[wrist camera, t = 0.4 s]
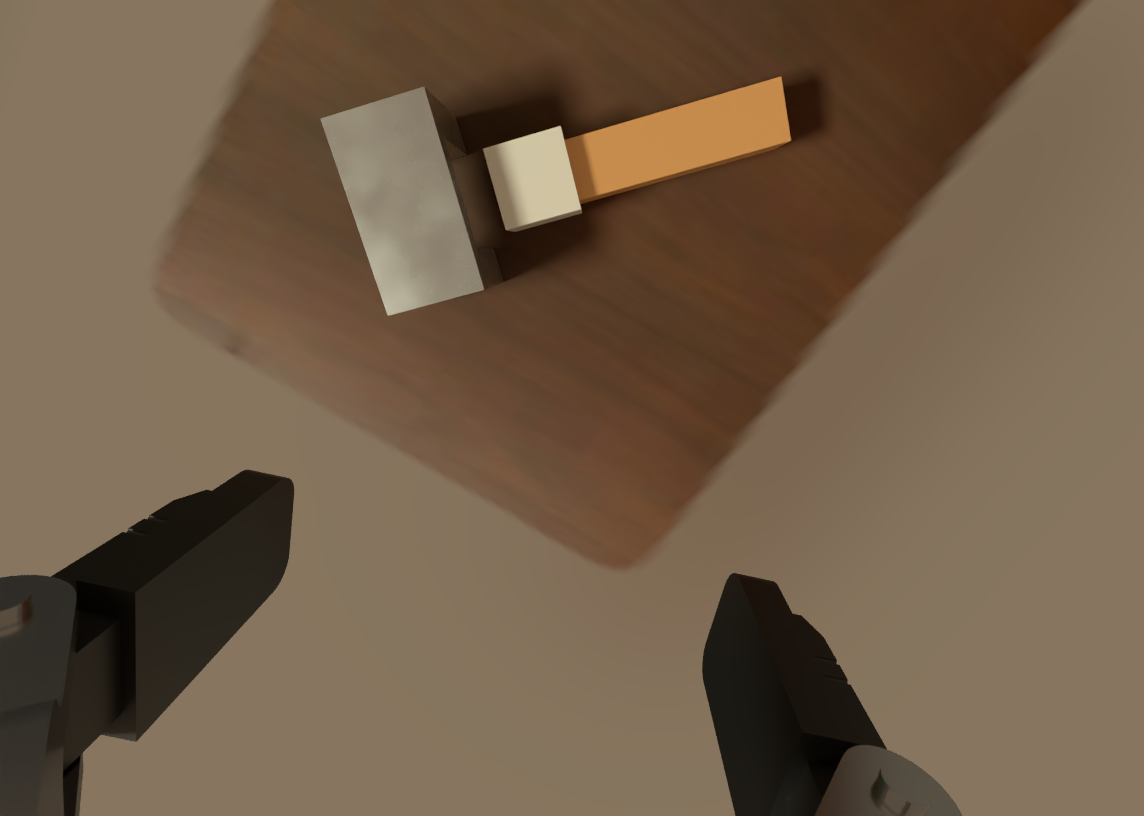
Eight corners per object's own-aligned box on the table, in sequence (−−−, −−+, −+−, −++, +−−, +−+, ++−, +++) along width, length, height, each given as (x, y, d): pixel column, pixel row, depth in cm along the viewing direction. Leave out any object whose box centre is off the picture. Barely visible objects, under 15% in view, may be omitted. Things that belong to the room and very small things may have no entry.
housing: (456, 117, 32) (423, 86, 26) (503, 282, 34) (484, 289, 28) (371, 143, 33) (320, 118, 27) (424, 303, 35) (387, 315, 29)
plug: (762, 81, 31) (786, 59, 27) (774, 159, 32) (799, 147, 28) (495, 160, 33) (482, 148, 29) (515, 231, 34) (505, 230, 30)
